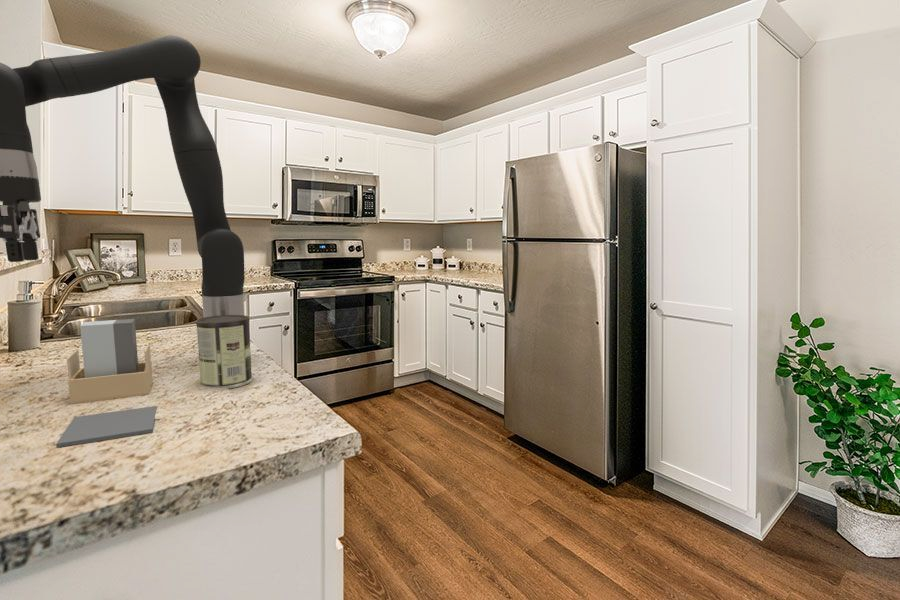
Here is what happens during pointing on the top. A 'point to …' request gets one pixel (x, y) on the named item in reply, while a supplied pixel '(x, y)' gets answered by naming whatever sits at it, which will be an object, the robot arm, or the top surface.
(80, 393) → the carton
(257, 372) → the top surface
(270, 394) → the top surface
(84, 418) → the mat
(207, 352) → the coffee can
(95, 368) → the box
